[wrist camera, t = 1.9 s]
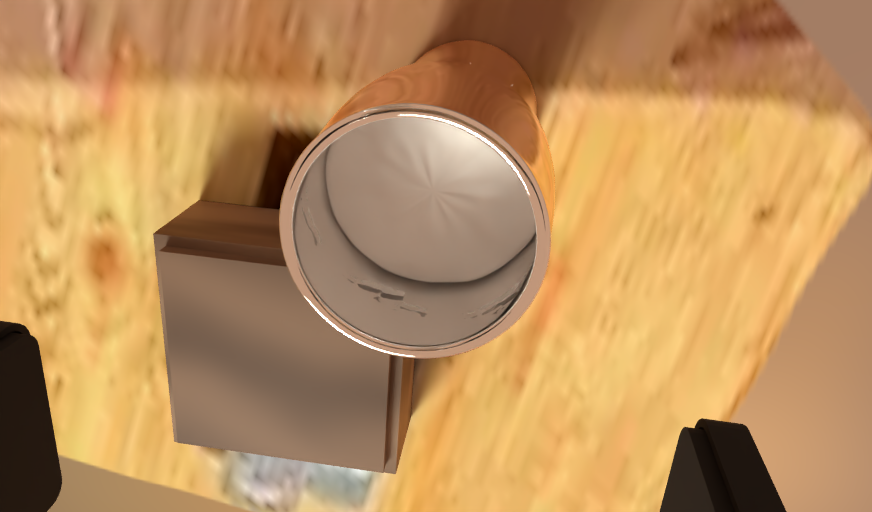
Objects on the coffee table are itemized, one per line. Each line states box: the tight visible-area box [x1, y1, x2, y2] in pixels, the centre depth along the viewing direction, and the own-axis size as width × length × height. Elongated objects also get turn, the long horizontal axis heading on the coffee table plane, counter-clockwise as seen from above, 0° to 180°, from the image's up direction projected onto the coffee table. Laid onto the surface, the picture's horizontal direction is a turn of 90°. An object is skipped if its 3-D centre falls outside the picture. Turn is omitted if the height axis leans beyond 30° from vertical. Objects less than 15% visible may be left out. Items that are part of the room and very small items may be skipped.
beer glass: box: [279, 40, 555, 359], centre depth 23 cm, size 7×7×15 cm
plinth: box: [153, 200, 415, 474], centre depth 33 cm, size 11×11×5 cm
